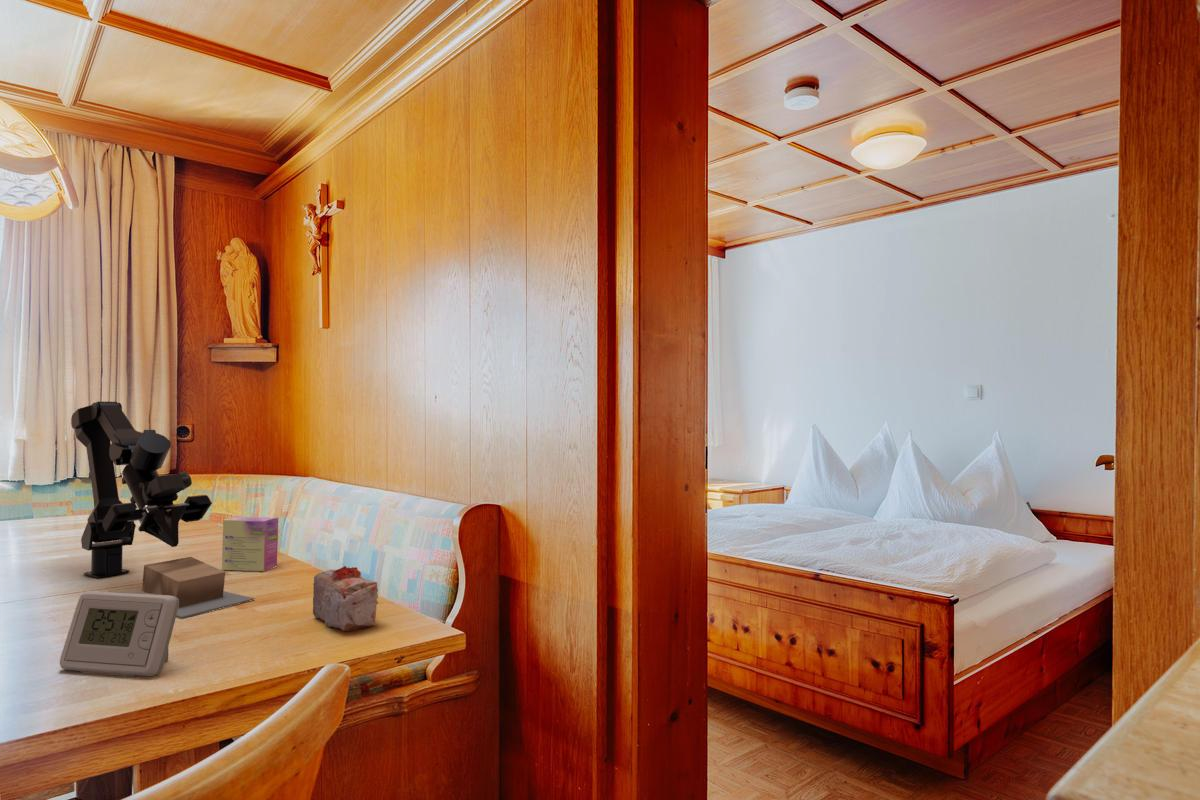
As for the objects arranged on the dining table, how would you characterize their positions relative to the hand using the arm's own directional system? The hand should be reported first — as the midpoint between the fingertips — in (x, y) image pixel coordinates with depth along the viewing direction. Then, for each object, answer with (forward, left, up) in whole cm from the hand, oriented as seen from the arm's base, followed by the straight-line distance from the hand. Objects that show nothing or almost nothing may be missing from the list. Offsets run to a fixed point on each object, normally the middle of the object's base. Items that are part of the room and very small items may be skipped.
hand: (175, 545), depth 138 cm
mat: (+7, 0, -10) cm, 13 cm away
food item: (+41, +6, -11) cm, 43 cm away
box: (-11, +23, -11) cm, 27 cm away
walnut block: (-3, 0, -6) cm, 6 cm away
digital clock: (+31, -25, -11) cm, 41 cm away
